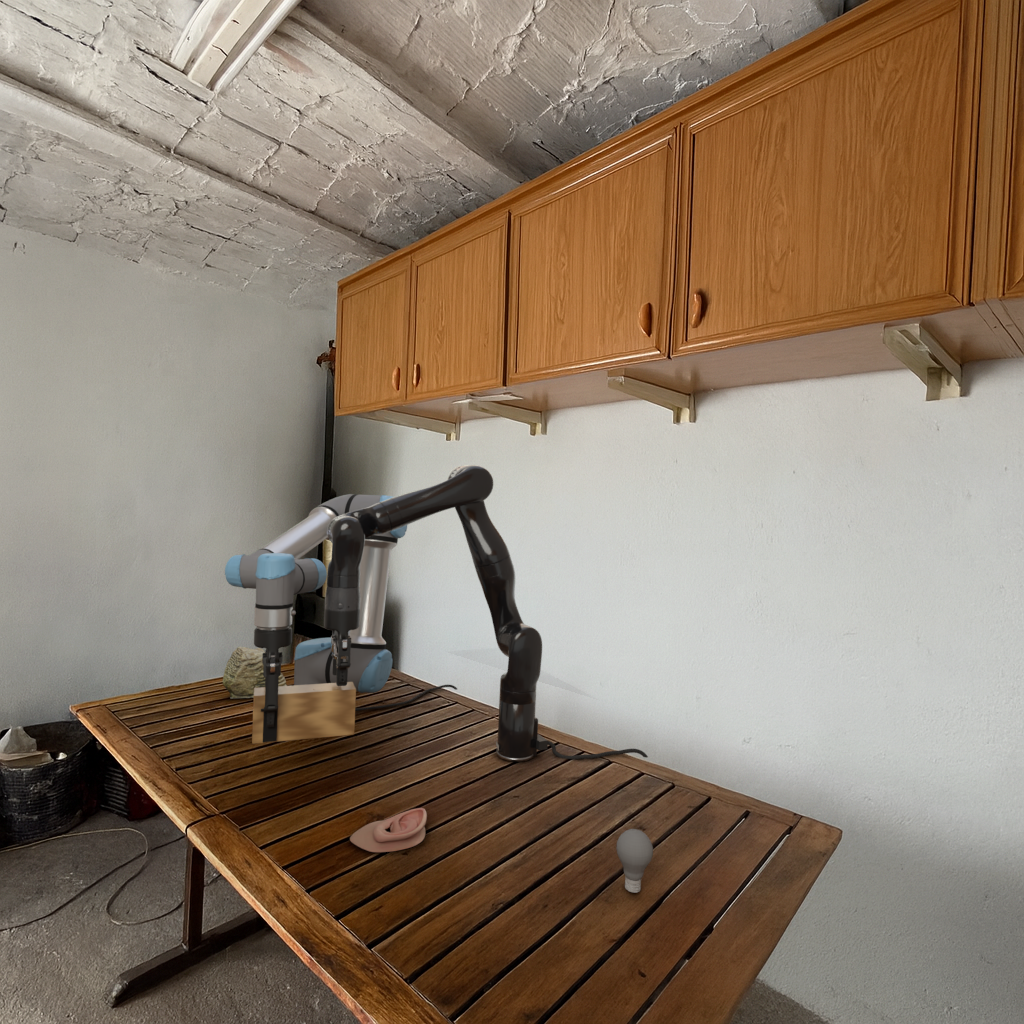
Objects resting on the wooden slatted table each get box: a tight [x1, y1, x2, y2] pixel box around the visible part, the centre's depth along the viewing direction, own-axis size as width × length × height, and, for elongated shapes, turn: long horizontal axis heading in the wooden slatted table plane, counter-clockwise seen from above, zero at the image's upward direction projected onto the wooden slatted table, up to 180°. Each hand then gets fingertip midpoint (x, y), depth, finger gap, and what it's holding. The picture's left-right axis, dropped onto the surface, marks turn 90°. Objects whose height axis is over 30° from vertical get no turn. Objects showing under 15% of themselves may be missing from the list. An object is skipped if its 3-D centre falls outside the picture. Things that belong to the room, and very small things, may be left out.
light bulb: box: [615, 828, 654, 894], centre depth 106 cm, size 6×6×10 cm
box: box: [251, 682, 357, 745], centre depth 137 cm, size 21×6×10 cm, turn 111°
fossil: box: [222, 646, 288, 699], centre depth 198 cm, size 9×18×15 cm, turn 132°
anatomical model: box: [349, 807, 428, 853], centre depth 119 cm, size 13×4×12 cm
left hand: (269, 735), depth 134 cm, fingers closed on box, 6 cm apart
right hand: (339, 680), depth 139 cm, fingers open, 8 cm apart
